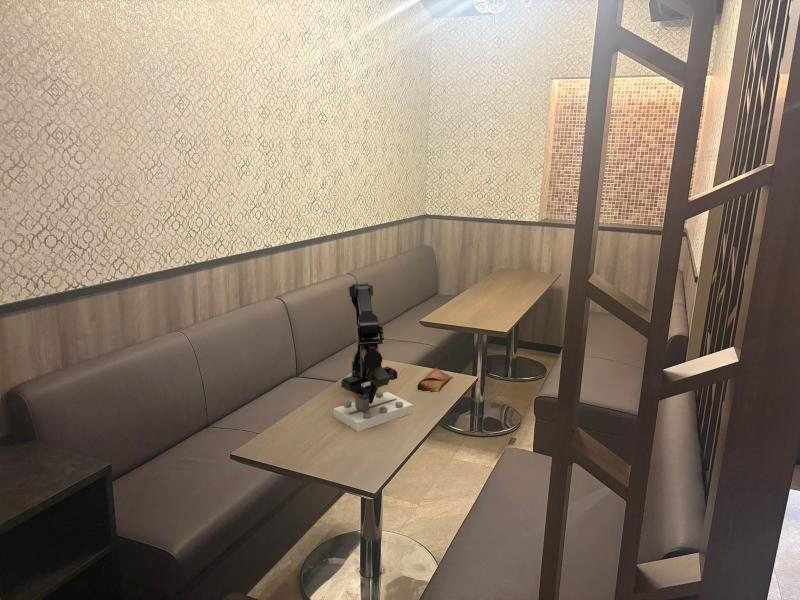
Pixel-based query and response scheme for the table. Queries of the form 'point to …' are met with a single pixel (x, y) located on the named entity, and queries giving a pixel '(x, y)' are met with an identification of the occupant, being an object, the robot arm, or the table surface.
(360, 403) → the fader
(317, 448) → the table surface
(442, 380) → the sunglasses case
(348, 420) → the mixer console
